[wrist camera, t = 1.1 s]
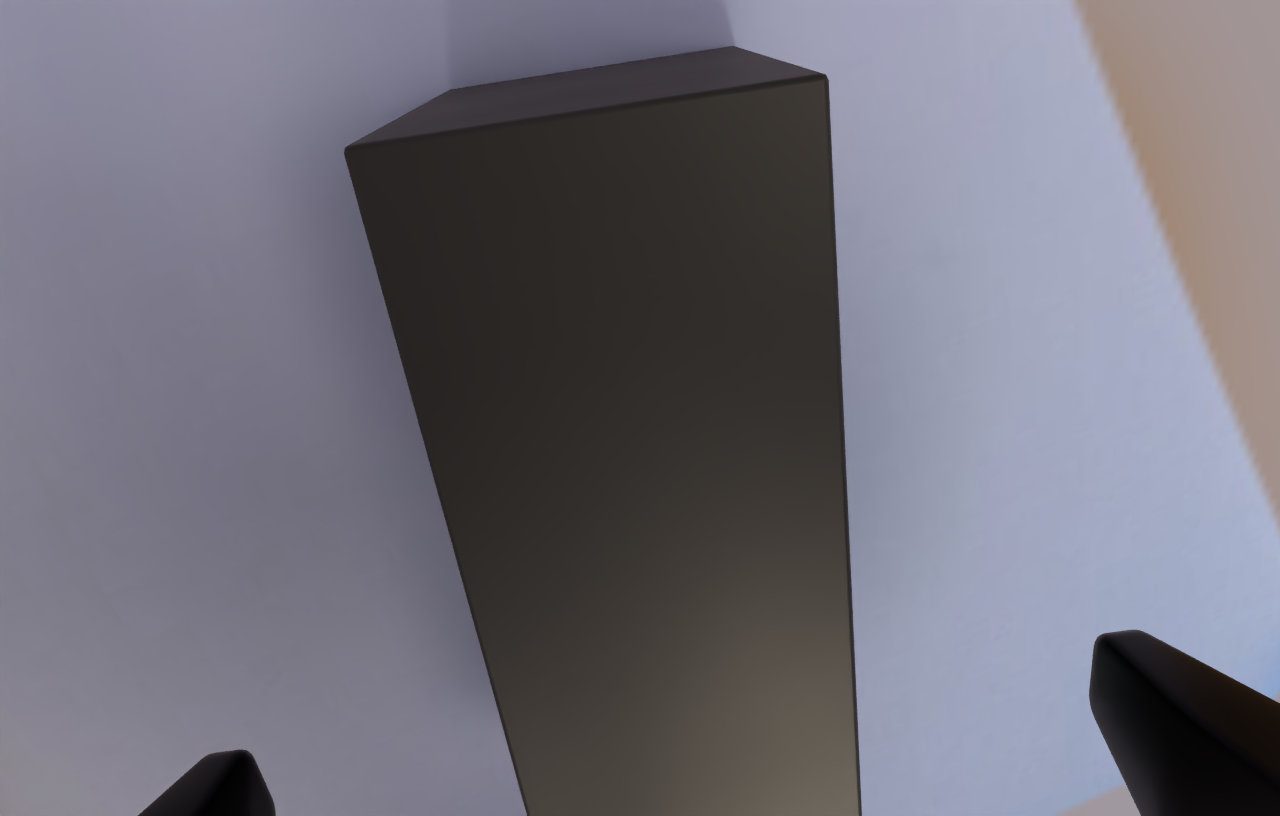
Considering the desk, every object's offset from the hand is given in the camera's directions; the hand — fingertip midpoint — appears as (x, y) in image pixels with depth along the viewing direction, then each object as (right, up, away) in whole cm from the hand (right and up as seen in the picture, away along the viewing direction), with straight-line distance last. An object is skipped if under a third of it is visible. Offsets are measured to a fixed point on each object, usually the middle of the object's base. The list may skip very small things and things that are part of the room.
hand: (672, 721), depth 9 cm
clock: (0, +3, +7) cm, 7 cm away
